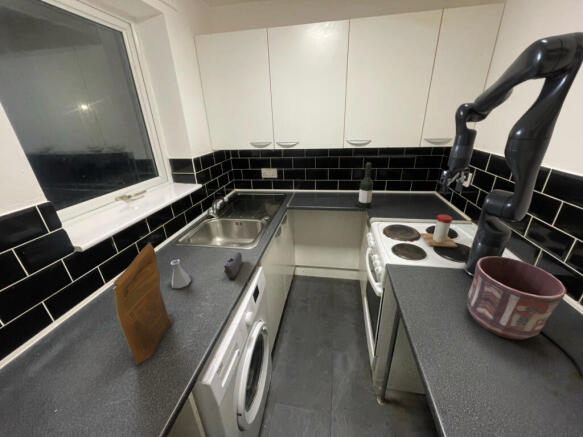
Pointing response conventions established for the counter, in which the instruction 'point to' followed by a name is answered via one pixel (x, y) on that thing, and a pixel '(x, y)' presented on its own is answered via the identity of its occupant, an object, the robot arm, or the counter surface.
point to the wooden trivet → (434, 243)
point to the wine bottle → (366, 189)
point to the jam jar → (441, 231)
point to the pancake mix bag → (141, 305)
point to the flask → (179, 275)
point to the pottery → (512, 297)
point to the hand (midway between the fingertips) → (450, 192)
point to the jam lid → (444, 218)
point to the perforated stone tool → (233, 265)
